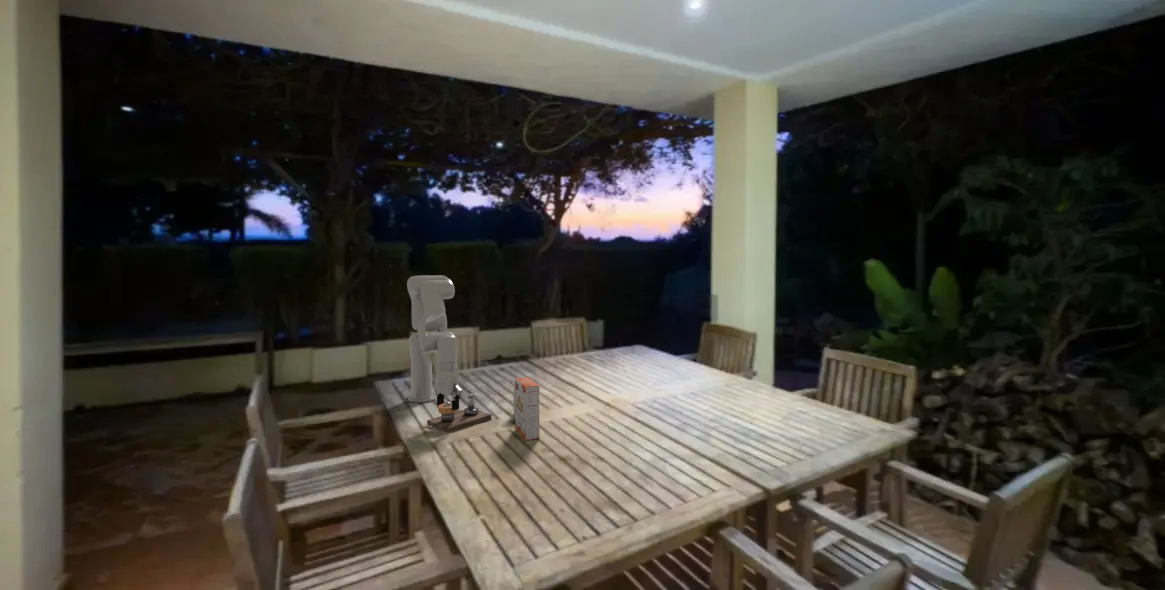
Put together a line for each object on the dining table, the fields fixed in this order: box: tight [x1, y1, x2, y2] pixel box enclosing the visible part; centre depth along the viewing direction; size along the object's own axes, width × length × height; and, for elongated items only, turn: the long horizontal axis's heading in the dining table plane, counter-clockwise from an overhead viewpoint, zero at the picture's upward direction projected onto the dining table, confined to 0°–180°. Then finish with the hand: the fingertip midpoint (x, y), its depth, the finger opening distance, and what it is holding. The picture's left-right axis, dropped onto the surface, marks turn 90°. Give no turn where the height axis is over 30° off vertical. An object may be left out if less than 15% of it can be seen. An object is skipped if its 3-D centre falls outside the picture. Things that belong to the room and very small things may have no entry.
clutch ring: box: [437, 402, 458, 414], centre depth 213 cm, size 7×7×2 cm
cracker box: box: [514, 377, 540, 441], centre depth 204 cm, size 14×6×21 cm, turn 23°
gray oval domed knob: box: [440, 401, 455, 423], centre depth 213 cm, size 5×5×8 cm
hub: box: [463, 393, 480, 416], centre depth 223 cm, size 6×6×8 cm
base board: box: [426, 409, 492, 434], centre depth 218 cm, size 14×22×2 cm, turn 141°
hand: (448, 407), depth 213 cm, fingers open, 9 cm apart
